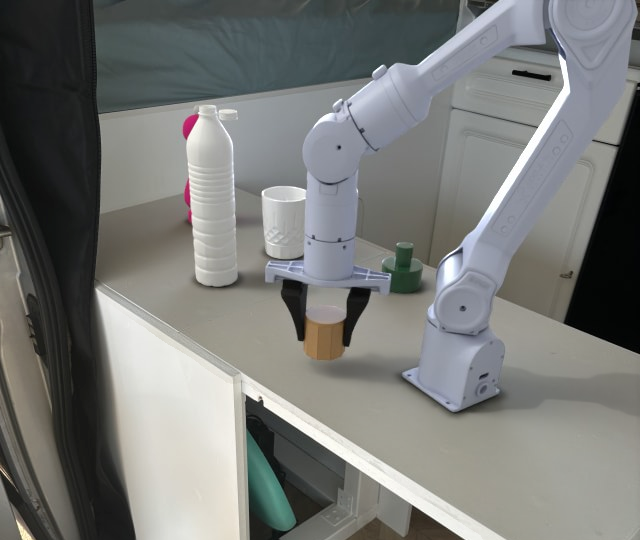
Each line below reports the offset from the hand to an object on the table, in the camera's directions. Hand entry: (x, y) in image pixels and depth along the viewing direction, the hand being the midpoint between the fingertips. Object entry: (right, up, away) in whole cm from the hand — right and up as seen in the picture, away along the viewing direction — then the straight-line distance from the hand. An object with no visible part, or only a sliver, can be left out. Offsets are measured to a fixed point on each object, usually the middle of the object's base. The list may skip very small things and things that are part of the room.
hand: (324, 340), depth 81 cm
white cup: (-7, +19, +32) cm, 38 cm away
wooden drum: (0, -1, +1) cm, 1 cm away
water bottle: (-16, +12, +21) cm, 29 cm away
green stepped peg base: (+12, +12, +23) cm, 29 cm away
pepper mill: (-22, +28, +42) cm, 55 cm away
